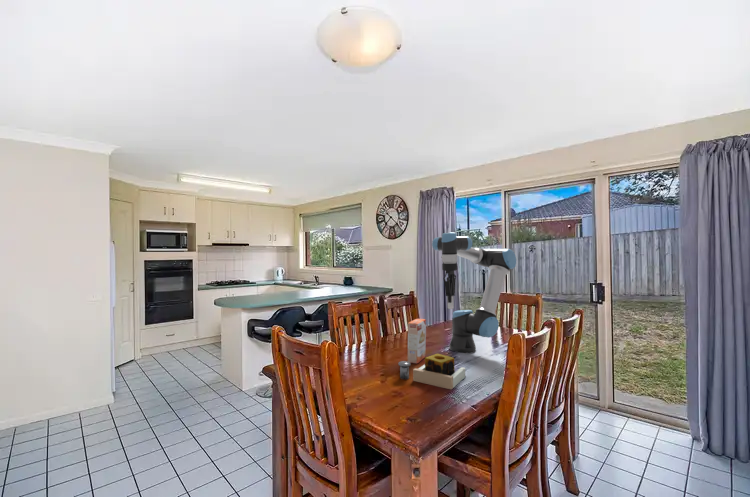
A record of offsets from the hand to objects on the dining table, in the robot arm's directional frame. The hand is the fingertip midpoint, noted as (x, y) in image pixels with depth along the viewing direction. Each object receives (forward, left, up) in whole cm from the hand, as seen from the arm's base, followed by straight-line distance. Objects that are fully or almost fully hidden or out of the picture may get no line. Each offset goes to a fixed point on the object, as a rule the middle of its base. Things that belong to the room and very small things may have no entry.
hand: (450, 308), depth 178 cm
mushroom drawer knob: (+29, -11, -29) cm, 42 cm away
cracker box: (+2, -18, -29) cm, 34 cm away
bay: (+20, +3, -29) cm, 35 cm away
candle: (+22, +3, -29) cm, 37 cm away
